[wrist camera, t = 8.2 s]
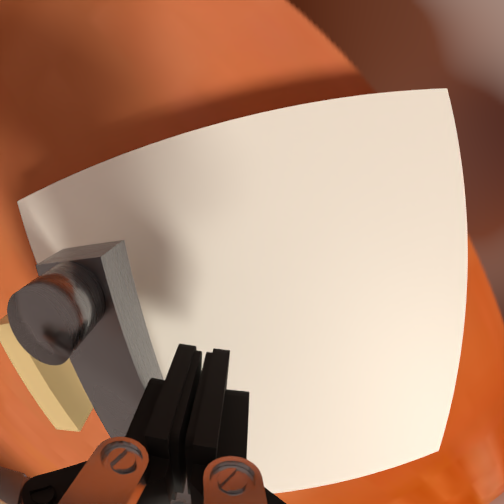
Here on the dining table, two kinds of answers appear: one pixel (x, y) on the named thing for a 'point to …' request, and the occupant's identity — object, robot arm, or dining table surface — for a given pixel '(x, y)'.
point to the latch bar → (91, 329)
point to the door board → (288, 274)
